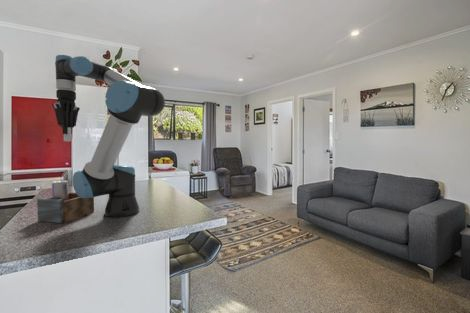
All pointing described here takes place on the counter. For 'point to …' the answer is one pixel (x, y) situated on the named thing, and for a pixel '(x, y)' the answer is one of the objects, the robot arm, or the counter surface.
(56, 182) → the beverage can
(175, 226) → the counter surface
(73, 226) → the counter surface
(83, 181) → the robot arm
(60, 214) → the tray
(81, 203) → the caddy
